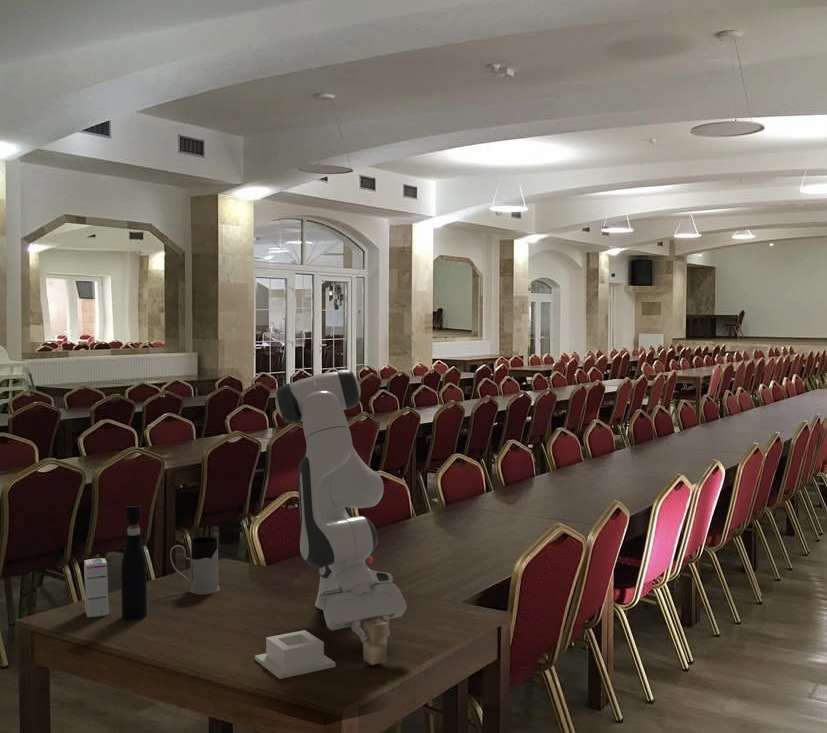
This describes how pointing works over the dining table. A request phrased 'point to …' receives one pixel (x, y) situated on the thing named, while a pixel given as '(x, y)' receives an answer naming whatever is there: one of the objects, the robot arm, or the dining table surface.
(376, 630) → the tan tall wooden block
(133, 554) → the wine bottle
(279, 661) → the white socket base
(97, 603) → the syrup box
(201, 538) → the grey mug
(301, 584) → the dining table surface
